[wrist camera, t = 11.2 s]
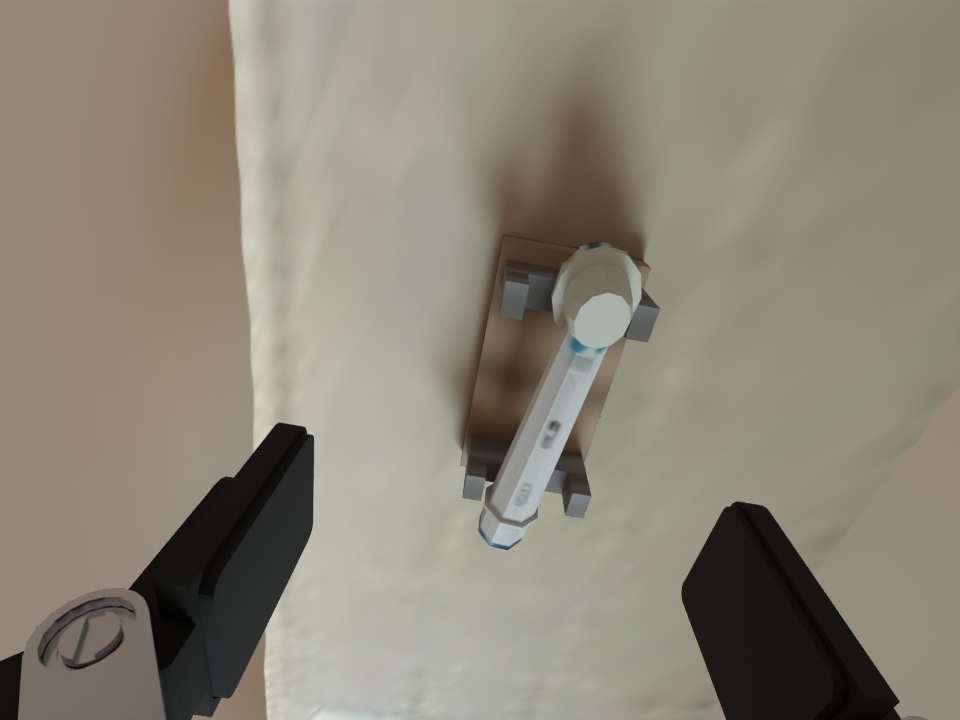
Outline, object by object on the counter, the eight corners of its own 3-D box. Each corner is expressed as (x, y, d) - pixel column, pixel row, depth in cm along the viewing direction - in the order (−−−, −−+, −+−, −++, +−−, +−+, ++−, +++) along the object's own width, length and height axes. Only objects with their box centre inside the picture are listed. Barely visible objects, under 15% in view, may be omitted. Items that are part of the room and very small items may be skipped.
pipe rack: (503, 234, 36) (502, 259, 29) (643, 261, 36) (674, 291, 29) (462, 452, 45) (453, 508, 38) (573, 471, 45) (584, 530, 39)
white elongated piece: (467, 544, 38) (580, 267, 24) (475, 481, 43) (571, 225, 30) (529, 558, 38) (675, 294, 24) (529, 494, 44) (648, 248, 30)
